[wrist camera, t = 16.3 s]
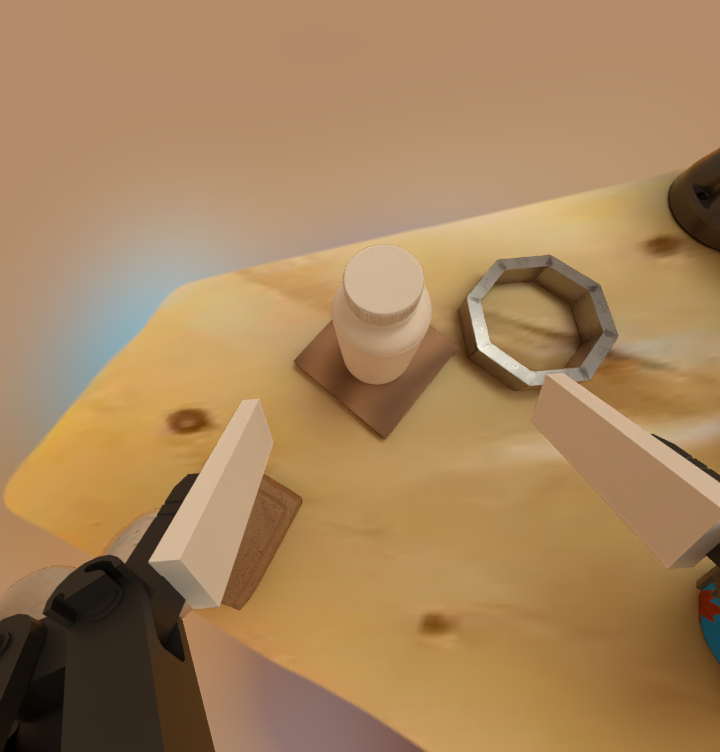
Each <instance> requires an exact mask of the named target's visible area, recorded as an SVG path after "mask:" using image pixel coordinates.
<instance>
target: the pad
mask: <svg viewBox="0 0 720 752" xmlns="http://www.w3.org/2000/svg"><path fill="white" fill-rule="evenodd" d="M458 347H459V346H458V345H457V344H455V343H454V342H452V341H451V340H450V339H448V338H447V337H445V336H444V335H443V334H441V333H440V332H439V331H437V330H436V329H434V328H433V327H432V326H430V325H429V327H428V330H427V332H426V334H425V336H424V338H423V339H422V341H421V343H420V345H419V347H418V348H417V350H416V352H415V354H414V356H413V358H412V359H411V361H410V363H409V365H408V367H407V368H406V370H405V371H404V372H403V373H402V374H401V375H400V376H399V377H398V378H397V379H395V380H393V381H391V382H389V383H386V384H380V385H374V384H368V383H365V382H362V381H360V380H359V379H357V378H356V377H355V376H353V375H352V374H351V372H350V371H349V370H348V368H347V367H346V365H345V362H344V359H343V356H342V352H341V349H340V345H339V342H338V338H337V335H336V331H335V328H334V324H333V320H331V322H330V323H329V324H328V325H327V326H326V327H325V328H324V329H323V330H322V331H321V332H320V333H319V334H318V335H317V337H316V338H315V339H314V340H313V341H312V342H311V343H310V344H309V345H308V346H307V347H306V348H305V349H304V350H303V352H302V353H301V354H300V355H299V356H298V357H297V358H296V359H295V360H294V363H295V364H296V365H298V366H299V367H300V368H301V369H302V370H303V371H305V372H306V373H307V374H308V375H309V376H311V377H312V378H313V379H314V380H315V381H317V382H318V383H319V384H320V385H321V386H322V387H324V388H325V389H326V390H327V391H328V392H330V393H331V394H332V395H333V396H334V397H336V398H337V399H338V400H339V401H340V402H341V403H343V404H344V405H345V406H346V407H347V408H349V409H350V410H351V411H352V412H353V413H355V414H356V415H357V416H358V417H359V418H360V419H362V420H363V421H364V422H365V423H366V424H368V425H369V426H370V427H371V428H372V429H374V430H375V431H376V432H377V433H378V434H379V435H381V436H382V437H383V438H384V439H386V438H387V437H388V435H389V434H390V433H391V431H392V430H393V429H394V428H395V426H396V425H397V424H398V423H399V421H400V420H401V419H402V418H403V416H404V415H405V414H406V413H407V411H408V410H409V409H410V407H411V406H412V405H413V404H414V402H415V401H416V400H417V399H418V397H419V396H420V395H421V394H422V392H423V391H424V390H425V389H426V387H427V386H428V385H429V383H430V382H431V381H432V380H433V378H434V377H435V376H436V375H437V373H438V372H439V371H440V370H441V368H442V367H443V366H444V365H445V363H446V362H447V361H448V359H449V358H450V357H451V356H452V354H453V353H454V352H455V351H456V349H457V348H458Z"/></svg>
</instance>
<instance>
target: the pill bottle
mask: <svg viewBox="0 0 720 752" xmlns="http://www.w3.org/2000/svg"><path fill="white" fill-rule="evenodd" d="M344 271H345V272H344V273H343V281H342V282H341V284H340V285H339V287H338V289H337V291H336V293H335V295H334V298H333V302H332V320H333V324H334V328H335V331H336V335H337V338H338V342H339V345H340V349H341V352H342V356H343V359H344V362H345V365H346V367H347V368H348V370H349V371H350V372H351V374H352V375H353V376H355V377H356V378H357V379H359V380H360V381H362V382H365V383H368V384H374V385H380V384H386V383H389V382H391V381H393V380H395V379H397V378H398V377H399V376H400V375H401V374H402V373H403V372H404V371H405V370H406V368H407V367H408V365H409V363H410V361H411V359H412V358H413V356H414V354H415V352H416V350H417V348H418V347H419V345H420V343H421V341H422V339H423V338H424V336H425V334H426V332H427V330H428V327H429V325H430V321H431V315H432V307H431V300H430V296H429V293H428V291H427V289H426V287H425V285H424V274H423V271H422V267H421V265H420V264H419V262H418V261H417V259H416V258H415V257H414V256H413V255H412V254H411V253H409V252H408V251H406V250H405V249H403V248H400V247H398V246H394V245H388V244H380V245H373V246H370V247H367V248H365V249H363V250H361V251H360V252H358V253H357V254H356V255H354V256H353V257H352V259H351V260H350V261H349V262H348V264H347V266H346V268H345V270H344Z"/></svg>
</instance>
